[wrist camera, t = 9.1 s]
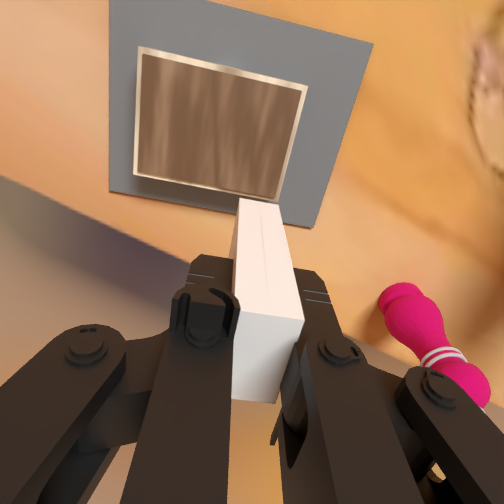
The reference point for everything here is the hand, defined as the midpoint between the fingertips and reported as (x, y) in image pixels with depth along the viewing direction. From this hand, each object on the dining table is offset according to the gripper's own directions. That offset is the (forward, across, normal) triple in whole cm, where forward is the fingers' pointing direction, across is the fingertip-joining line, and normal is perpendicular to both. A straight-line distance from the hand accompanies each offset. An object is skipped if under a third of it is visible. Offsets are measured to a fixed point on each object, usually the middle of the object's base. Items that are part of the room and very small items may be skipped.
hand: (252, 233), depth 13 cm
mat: (+28, -2, 0) cm, 28 cm away
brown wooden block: (+26, +5, -1) cm, 26 cm away
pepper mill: (+29, +27, -20) cm, 44 cm away
